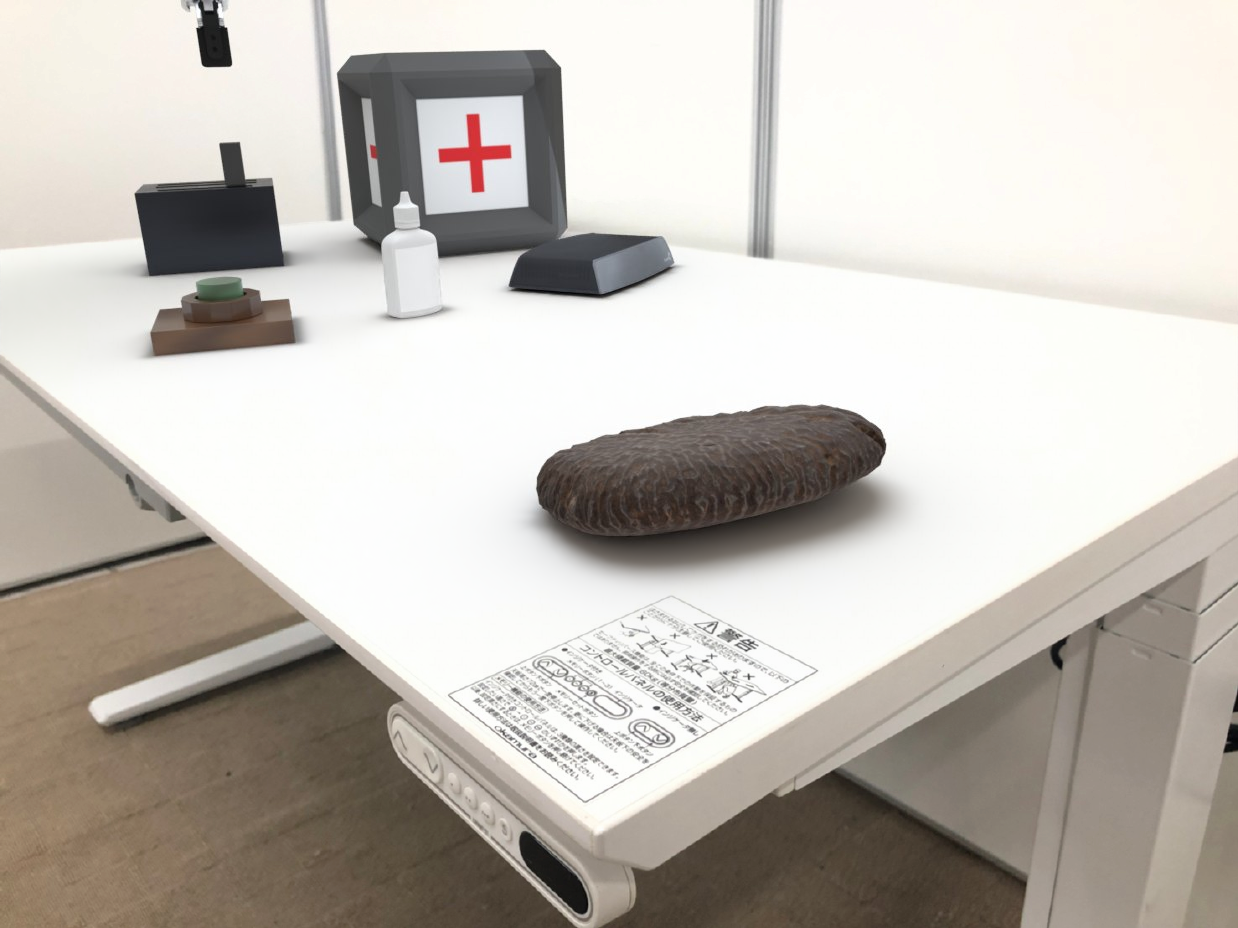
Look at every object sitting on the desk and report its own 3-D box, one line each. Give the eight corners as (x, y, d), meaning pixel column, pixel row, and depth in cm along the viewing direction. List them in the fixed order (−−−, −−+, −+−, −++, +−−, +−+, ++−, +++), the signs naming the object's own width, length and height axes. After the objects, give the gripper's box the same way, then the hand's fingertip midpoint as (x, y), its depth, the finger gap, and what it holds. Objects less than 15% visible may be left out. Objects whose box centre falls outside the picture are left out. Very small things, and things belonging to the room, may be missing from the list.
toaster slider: (225, 186, 130) (219, 143, 128) (225, 184, 132) (219, 142, 130) (245, 184, 130) (239, 142, 129) (246, 183, 132) (240, 141, 130)
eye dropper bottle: (446, 315, 106) (436, 192, 101) (389, 320, 104) (376, 196, 100) (440, 306, 110) (430, 188, 105) (385, 311, 108) (372, 191, 104)
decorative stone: (756, 435, 70) (758, 361, 68) (925, 501, 59) (933, 416, 57) (497, 505, 60) (491, 421, 58) (643, 601, 49) (641, 501, 47)
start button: (197, 305, 96) (194, 286, 95) (199, 297, 99) (196, 278, 99) (244, 301, 97) (241, 282, 96) (244, 293, 100) (241, 275, 100)
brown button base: (154, 356, 93) (146, 312, 92) (163, 331, 102) (155, 290, 101) (295, 343, 96) (289, 300, 95) (292, 320, 105) (286, 280, 104)
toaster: (149, 276, 130) (133, 192, 126) (156, 262, 140) (142, 183, 136) (284, 266, 134) (273, 184, 131) (282, 253, 144) (272, 176, 141)
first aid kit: (352, 238, 155) (331, 56, 146) (512, 224, 165) (502, 52, 156) (392, 263, 134) (371, 52, 125) (574, 246, 144) (566, 49, 135)
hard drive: (680, 267, 127) (680, 233, 126) (607, 299, 111) (606, 260, 110) (585, 261, 133) (584, 228, 131) (502, 290, 117) (499, 253, 115)
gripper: (160, -92, 121) (185, 68, 127) (150, -116, 106) (179, 67, 112) (229, -91, 123) (251, 66, 129) (229, -113, 108) (253, 66, 114)
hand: (218, 67), depth 120 cm, fingers open, 9 cm apart
